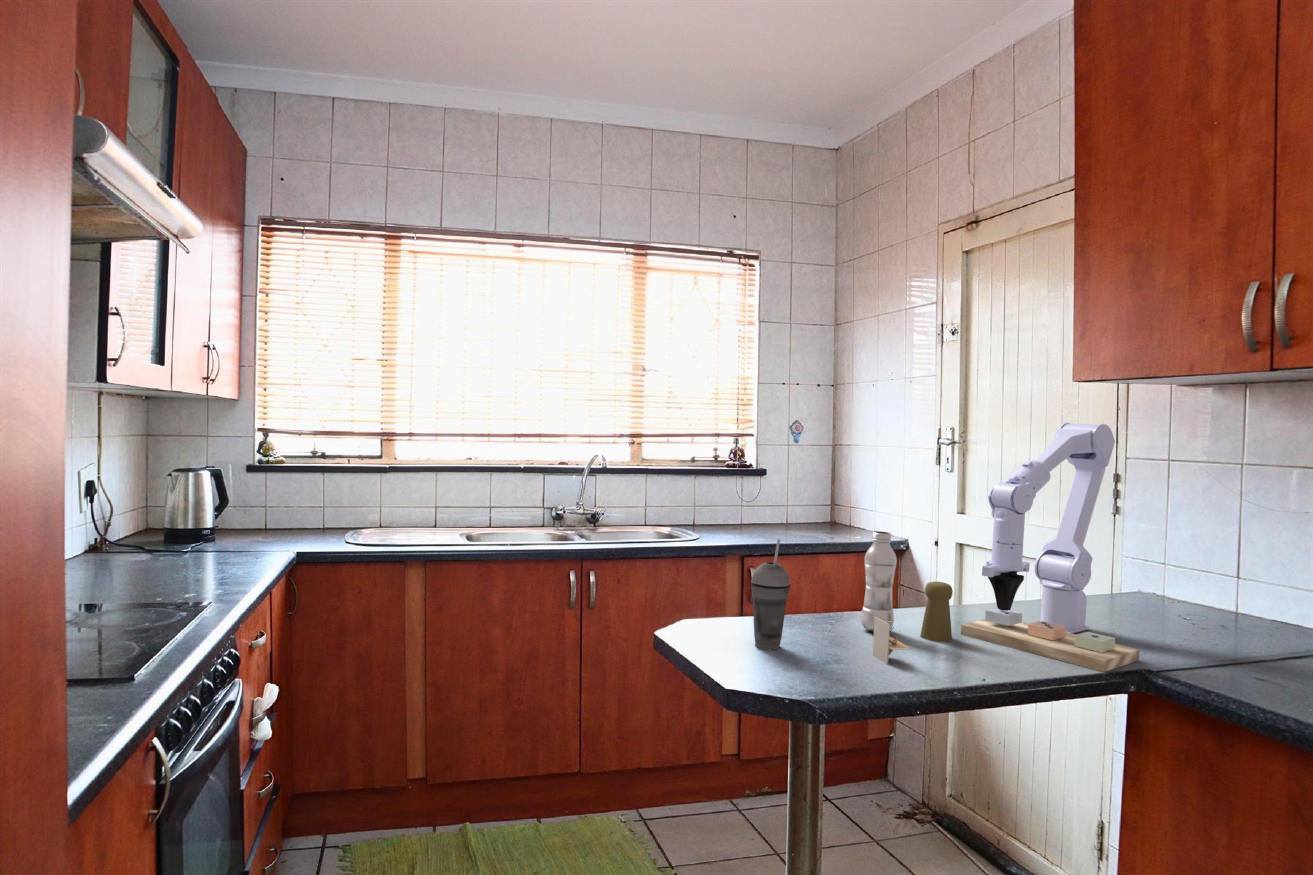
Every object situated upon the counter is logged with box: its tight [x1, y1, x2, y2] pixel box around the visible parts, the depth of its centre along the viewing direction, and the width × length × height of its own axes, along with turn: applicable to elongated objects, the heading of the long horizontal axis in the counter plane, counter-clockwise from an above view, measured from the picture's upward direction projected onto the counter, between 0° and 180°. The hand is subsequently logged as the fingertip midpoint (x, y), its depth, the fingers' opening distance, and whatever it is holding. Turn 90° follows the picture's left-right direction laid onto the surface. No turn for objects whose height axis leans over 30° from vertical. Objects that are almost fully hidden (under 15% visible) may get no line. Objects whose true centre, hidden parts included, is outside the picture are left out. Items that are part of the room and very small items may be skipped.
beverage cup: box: [750, 538, 791, 651], centre depth 152 cm, size 7×7×20 cm
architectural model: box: [872, 617, 910, 665], centre depth 147 cm, size 3×7×7 cm, turn 11°
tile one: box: [1074, 631, 1116, 653], centre depth 154 cm, size 5×5×2 cm
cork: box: [919, 581, 954, 643], centre depth 164 cm, size 6×6×11 cm
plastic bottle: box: [860, 530, 898, 632], centre depth 167 cm, size 6×7×20 cm
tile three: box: [1028, 620, 1067, 640], centre depth 161 cm, size 5×5×2 cm
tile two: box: [984, 607, 1023, 626], centre depth 168 cm, size 5×5×2 cm
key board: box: [960, 618, 1141, 673], centre depth 161 cm, size 14×28×2 cm, turn 38°
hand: (1003, 609), depth 168 cm, fingers closed
